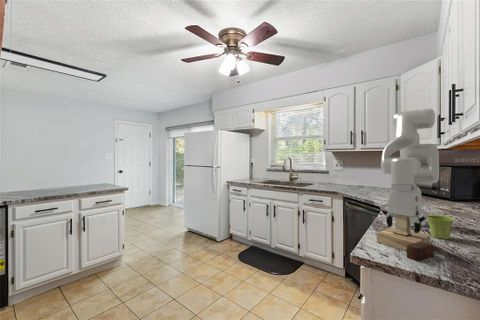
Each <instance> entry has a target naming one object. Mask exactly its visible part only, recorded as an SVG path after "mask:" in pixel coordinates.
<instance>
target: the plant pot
mask: <svg viewBox="0 0 480 320" xmlns="http://www.w3.org/2000/svg"><path fill="white" fill-rule="evenodd" d="M426 220H427V221H428V226H429V230H430V236H431V237H433V238H434V239H442V240H450V238H451V231H452V225H453V223H454V221H455V219H454V218H453V217H449V216H444V215H436V214H435V215H434V214H431V215H430V214H429V215H428V217H427V218H426Z"/></svg>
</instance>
